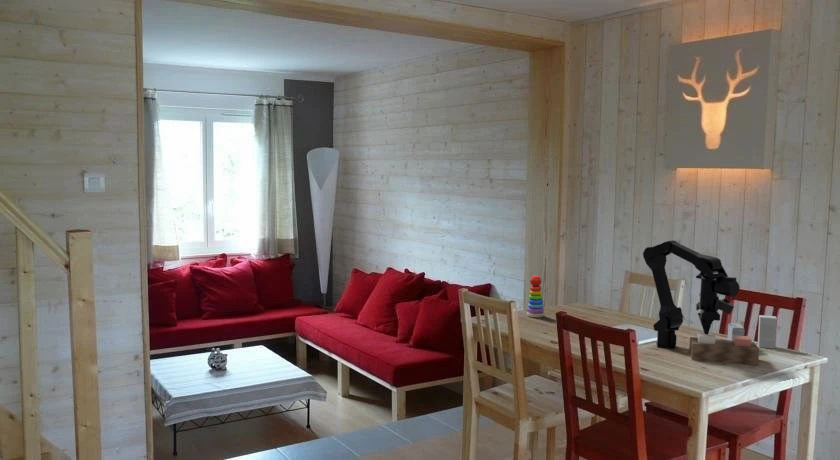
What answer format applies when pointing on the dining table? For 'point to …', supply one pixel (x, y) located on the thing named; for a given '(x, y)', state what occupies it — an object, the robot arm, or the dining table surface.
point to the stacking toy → (535, 298)
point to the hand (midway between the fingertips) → (706, 334)
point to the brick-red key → (741, 341)
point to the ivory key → (706, 338)
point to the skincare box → (767, 331)
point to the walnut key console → (724, 352)
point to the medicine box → (734, 330)
